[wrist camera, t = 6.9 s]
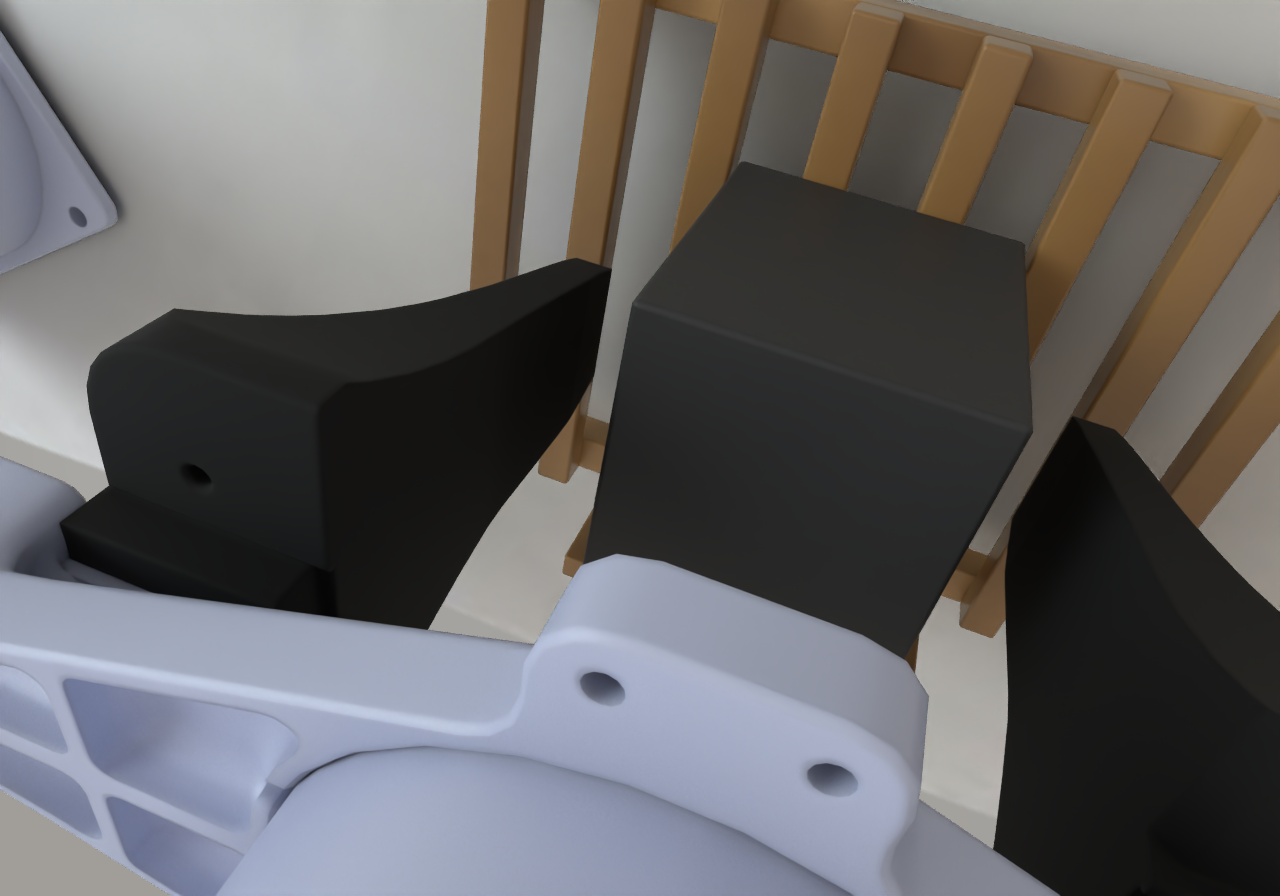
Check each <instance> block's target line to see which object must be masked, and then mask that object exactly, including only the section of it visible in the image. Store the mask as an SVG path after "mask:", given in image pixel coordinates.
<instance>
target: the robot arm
mask: <svg viewBox="0 0 1280 896" xmlns="http://www.w3.org/2000/svg"><path fill="white" fill-rule="evenodd" d="M117 217H118V215H117V210H116V207H115V205H114V203H113V201H112V200H111V198H110V197H109V195H108V193H107V192H106V190H105V189H104V187H103V186H102V184H101V183H100V181H99V180H98V178H97V177H96V175H95V174H94V172H93V171H92V169H91V168H90V166H89V165H88V163H87V162H86V160H85V158H84V157H83V155H82V154H81V152H80V151H79V149H78V148H77V146H76V145H75V143H74V142H73V140H72V139H71V137H70V136H69V134H68V133H67V131H66V130H65V128H64V127H63V125H62V124H61V122H60V120H59V119H58V117H57V116H56V114H55V113H54V111H53V110H52V108H51V107H50V105H49V104H48V102H47V101H46V99H45V98H44V96H43V95H42V93H41V92H40V90H39V89H38V87H37V85H36V84H35V82H34V81H33V79H32V78H31V76H30V75H29V73H28V72H27V70H26V69H25V67H24V66H23V64H22V63H21V61H20V60H19V58H18V57H17V55H16V54H15V52H14V51H13V49H12V47H11V46H10V44H9V43H8V41H7V40H6V38H5V37H4V35H3V34H2V32H1V31H0V274H3V273H5V272H7V271H10V270H12V269H14V268H17V267H19V266H21V265H24V264H26V263H28V262H30V261H33V260H35V259H37V258H40V257H42V256H44V255H47V254H49V253H51V252H54V251H56V250H58V249H60V248H63V247H65V246H67V245H70V244H72V243H74V242H77V241H79V240H81V239H84V238H86V237H88V236H90V235H93V234H95V233H97V232H100V231H102V230H104V229H106V228H109V227H111V226H113V225H114V224H115V223H116V222H117ZM611 272H612V269H611V268H608V267H605V266H601V265H598V264H595V263H592V262H589V261H586V260H583V259H579V258H572V259H568V260H564V261H561V262H558V263H555V264H552V265H548V266H546V267H543V268H540V269H537V270H534V271H531V272H528V273H525V274H522V275H519V276H516V277H513V278H510V279H507V280H504V281H501V282H498V283H495V284H492V285H489V286H485V287H482V288H478V289H474V290H471V291H467V292H464V293H460V294H457V295H453V296H449V297H446V298H442V299H438V300H433V301H429V302H424V303H419V304H414V305H408V306H402V307H396V308H390V309H383V310H375V311H364V312H352V313H341V314H329V315H301V316H278V315H243V314H231V313H219V312H206V311H194V310H184V309H176V308H174V309H172V310H171V311H169V312H167V313H166V314H164V315H162V316H161V317H159V318H157V319H156V320H154V321H152V322H151V323H149V324H147V325H145V326H144V327H142V328H140V329H139V330H137V331H135V332H134V333H132V334H130V335H129V336H127V337H125V338H124V339H122V340H120V341H119V342H117V343H115V344H114V345H112V346H110V347H108V348H107V349H105V350H103V351H102V352H101V353H100V354H99V355H98V357H97V358H96V359H95V361H94V362H93V363H92V365H91V366H90V371H89V376H88V381H87V394H88V402H89V410H90V415H91V418H92V422H93V426H94V430H95V434H96V438H97V441H98V445H99V449H100V453H101V457H102V460H103V464H104V468H105V472H106V475H107V479H108V483H109V486H108V487H107V488H105V489H104V490H103V491H101V492H100V493H99V494H97V495H96V496H95V497H93V498H92V499H91V500H89V501H88V502H86V500H85V498H84V497H83V496H82V495H81V494H80V493H79V492H78V491H77V490H76V489H75V488H74V487H72V486H70V485H69V484H67V483H65V482H64V481H62V480H59V479H57V478H54V477H52V476H49V475H47V474H44V473H41V472H39V471H37V470H34V469H32V468H29V467H27V466H24V465H22V464H19V463H16V462H14V461H12V460H9V459H6V458H4V457H1V456H0V790H2V791H3V792H5V793H6V794H8V795H10V796H11V797H13V798H15V799H17V800H18V801H20V802H21V803H23V804H25V805H27V806H28V807H30V808H31V809H33V810H35V811H37V812H38V813H40V814H41V815H43V816H45V817H46V818H48V819H50V820H51V821H53V822H55V823H56V824H58V825H59V826H61V827H63V828H64V829H66V830H67V831H69V832H70V833H72V834H74V835H75V836H77V837H78V838H80V839H82V840H83V841H85V842H86V843H88V844H90V845H91V846H93V847H94V848H96V849H97V850H99V851H101V852H102V853H104V854H105V855H107V856H109V857H110V858H112V859H113V860H115V861H117V862H118V863H120V864H121V865H123V866H124V867H126V868H128V869H129V870H131V871H132V872H134V873H136V874H137V875H139V876H140V877H142V878H144V879H145V880H147V881H148V882H150V883H151V884H153V885H155V886H157V887H158V888H159V889H161V890H163V891H164V892H166V893H167V894H169V895H171V896H1280V612H1279V611H1278V610H1277V609H1276V608H1275V607H1274V606H1273V605H1272V604H1270V603H1269V602H1268V601H1267V600H1266V599H1265V598H1264V597H1263V596H1262V595H1261V594H1260V593H1259V592H1257V591H1256V590H1255V589H1254V588H1253V587H1252V586H1251V585H1250V584H1249V583H1248V582H1247V581H1246V580H1245V579H1244V578H1243V577H1242V576H1241V575H1240V574H1239V573H1238V572H1237V571H1236V570H1235V569H1234V568H1233V567H1232V566H1231V565H1230V564H1229V563H1228V561H1227V560H1226V559H1225V558H1224V557H1223V556H1222V555H1221V554H1220V553H1219V552H1218V551H1217V550H1216V548H1215V547H1214V546H1213V545H1212V544H1211V543H1210V542H1209V541H1208V540H1207V539H1206V538H1205V536H1204V535H1203V534H1202V533H1201V532H1200V531H1199V529H1198V528H1197V527H1196V526H1195V525H1194V524H1193V522H1192V521H1191V520H1190V519H1189V518H1188V517H1187V515H1186V514H1185V513H1184V512H1183V511H1182V509H1181V508H1180V507H1179V506H1178V504H1177V503H1176V502H1175V501H1174V499H1173V498H1172V497H1171V496H1170V495H1169V493H1168V492H1167V491H1166V490H1165V488H1164V487H1163V486H1162V484H1161V483H1160V482H1159V481H1158V479H1157V478H1156V477H1155V476H1154V474H1153V473H1152V472H1151V471H1150V469H1149V468H1148V467H1147V466H1146V464H1145V463H1144V462H1143V460H1142V459H1141V458H1140V457H1139V456H1138V454H1137V453H1136V452H1135V451H1134V449H1133V448H1132V447H1131V446H1130V445H1129V443H1128V442H1127V441H1126V440H1125V439H1124V438H1123V437H1122V436H1121V435H1120V434H1119V433H1118V432H1117V431H1116V430H1115V429H1112V428H1109V427H1106V426H1103V425H1100V424H1097V423H1094V422H1091V421H1087V420H1084V419H1081V418H1078V417H1075V416H1072V417H1071V419H1070V421H1069V422H1068V424H1067V426H1066V427H1065V429H1064V431H1063V432H1062V434H1061V436H1060V437H1059V439H1058V441H1057V443H1056V444H1055V446H1054V448H1053V449H1052V451H1051V453H1050V454H1049V456H1048V458H1047V460H1046V461H1045V463H1044V465H1043V466H1042V468H1041V470H1040V471H1039V473H1038V475H1037V476H1036V478H1035V480H1034V482H1033V483H1032V485H1031V487H1030V488H1029V490H1028V492H1027V493H1026V495H1025V497H1024V499H1023V500H1022V502H1021V504H1020V505H1019V507H1018V509H1017V510H1016V512H1015V514H1014V515H1013V517H1012V521H1011V528H1010V535H1009V541H1008V548H1007V556H1006V565H1005V616H1006V644H1007V673H1008V723H1007V734H1006V744H1005V754H1004V765H1003V775H1002V784H1001V792H1000V800H999V808H998V817H997V825H996V833H995V841H994V847H993V849H992V848H990V847H989V846H987V845H986V844H984V843H983V842H981V841H980V840H978V839H977V838H975V837H973V835H971V834H970V833H968V832H967V831H965V830H964V829H962V828H961V827H959V826H958V825H956V824H955V823H953V822H952V821H951V820H949V819H948V818H946V817H945V816H943V815H942V814H940V813H939V812H937V811H936V810H934V809H933V808H931V807H930V806H929V805H927V804H926V803H924V802H923V801H921V800H920V799H919V795H920V789H921V781H922V769H923V758H924V746H925V735H926V723H927V711H928V700H929V696H928V694H927V693H926V691H925V689H924V688H923V686H922V685H921V683H920V681H919V680H918V678H917V677H916V675H915V674H914V672H913V670H912V669H911V667H910V666H909V664H908V662H907V661H905V660H904V659H902V658H900V657H899V656H897V655H895V654H894V653H892V652H890V651H889V650H887V649H885V648H884V647H882V646H880V645H879V644H877V643H875V642H874V641H872V640H870V639H869V638H867V637H865V636H864V635H861V634H858V633H856V632H853V631H850V630H847V629H845V628H842V627H839V626H837V625H834V624H831V623H828V622H826V621H823V620H820V619H818V618H815V617H812V616H809V615H807V614H804V613H801V612H799V611H796V610H793V609H791V608H788V607H785V606H782V605H780V604H777V603H774V602H772V601H769V600H766V599H763V598H761V597H758V596H755V595H753V594H750V593H747V592H744V591H742V590H739V589H736V588H734V587H731V586H728V585H725V584H723V583H720V582H717V581H715V580H712V579H709V578H707V577H704V576H701V575H698V574H696V573H693V572H690V571H688V570H685V569H682V568H679V567H677V566H674V565H671V564H669V563H666V562H663V561H658V560H652V559H645V558H639V557H633V556H627V555H621V554H615V555H611V556H608V557H605V558H602V559H599V560H596V561H593V562H590V563H587V564H584V565H581V566H580V568H579V569H578V571H577V572H576V574H575V575H574V577H573V579H572V580H571V582H570V583H569V585H568V587H567V588H566V590H565V591H564V593H563V595H562V597H561V598H560V600H559V602H558V604H557V605H556V607H555V609H554V611H553V612H552V614H551V616H550V618H549V619H548V621H547V623H546V625H545V626H544V628H543V630H542V632H541V633H540V635H539V637H538V639H537V640H536V642H535V644H529V643H522V642H514V641H507V640H499V639H492V638H484V637H476V636H469V635H462V634H455V633H447V632H440V631H432V630H428V629H429V627H430V625H431V623H432V621H433V620H434V618H435V616H436V614H437V612H438V611H439V609H440V607H441V605H442V604H443V602H444V600H445V598H446V597H447V595H448V593H449V591H450V590H451V588H452V586H453V584H454V583H455V581H456V579H457V577H458V576H459V574H460V572H461V570H462V569H463V567H464V565H465V564H466V562H467V560H468V559H469V557H470V556H471V554H472V552H473V551H474V549H475V547H476V546H477V544H478V542H479V541H480V539H481V537H482V536H483V534H484V532H485V531H486V529H487V527H488V526H489V524H490V523H491V522H492V520H493V519H494V517H495V516H496V514H497V513H498V512H499V510H500V509H501V507H502V506H503V505H504V503H505V502H506V501H507V500H508V498H509V497H510V496H511V495H512V493H513V492H514V491H515V489H516V488H517V487H518V486H519V484H520V483H521V482H522V481H523V479H524V478H525V477H526V475H527V474H528V473H529V472H530V470H531V469H532V468H533V467H534V465H535V464H536V463H537V462H538V460H539V459H540V458H541V456H542V455H543V454H544V453H545V451H546V450H547V449H548V447H549V446H550V445H551V444H552V442H553V441H554V440H555V438H556V437H557V436H558V435H559V433H560V432H561V431H562V429H563V428H564V427H565V425H566V424H567V423H568V421H569V420H570V418H571V416H572V415H573V413H574V411H575V410H576V408H577V406H578V404H579V403H580V401H581V399H582V397H583V395H584V394H585V392H586V390H587V388H588V386H589V384H590V382H591V381H592V379H593V377H594V373H595V367H596V361H597V355H598V349H599V343H600V337H601V332H602V326H603V320H604V314H605V308H606V302H607V296H608V290H609V284H610V278H611Z"/></svg>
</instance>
